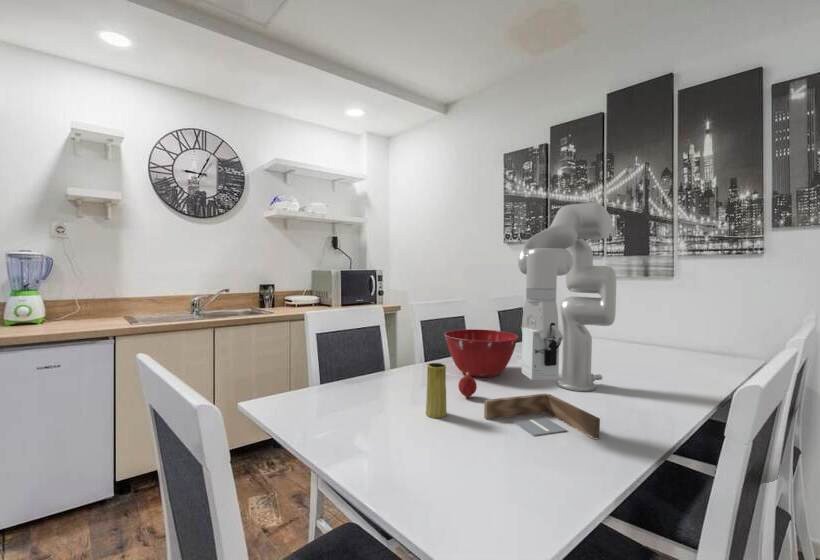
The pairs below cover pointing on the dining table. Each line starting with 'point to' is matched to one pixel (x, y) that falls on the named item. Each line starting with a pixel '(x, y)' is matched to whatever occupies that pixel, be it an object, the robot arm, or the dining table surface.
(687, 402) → the dining table surface
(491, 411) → the corner arena
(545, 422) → the pad
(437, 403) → the vase
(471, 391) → the red oval fruit
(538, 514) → the dining table surface
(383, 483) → the dining table surface
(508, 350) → the mixing bowl
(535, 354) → the supplement box
